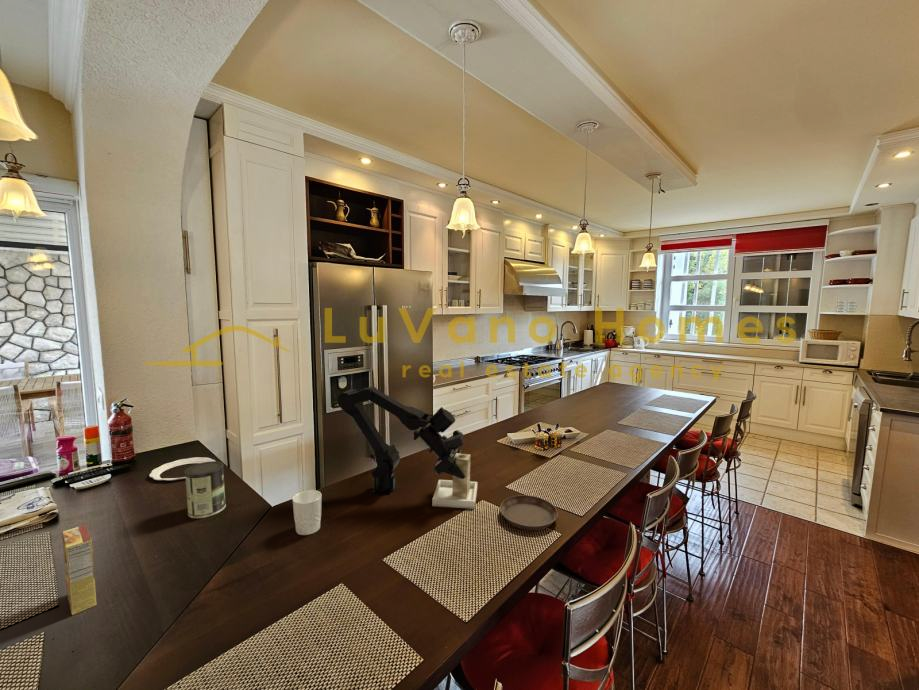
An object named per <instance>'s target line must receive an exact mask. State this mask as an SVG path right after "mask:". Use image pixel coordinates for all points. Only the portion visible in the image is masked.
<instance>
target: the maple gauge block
mask: <svg viewBox="0 0 919 690" xmlns="http://www.w3.org/2000/svg"><path fill="white" fill-rule="evenodd" d="M455 458H456V464H457V466H458V467H459V469H460V470H461V471H462V473H463V474H464V476H465V478H464V479H461V478H458V477H456V476H453V475H452V481H453V490H452V496H459V497H467V496H468V494H469V491H470V482H471V454H468V453H461V454H460V453H456V455H455V456H454V458H453V460H454V459H455Z"/></svg>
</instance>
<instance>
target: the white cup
mask: <svg viewBox="0 0 919 690" xmlns="http://www.w3.org/2000/svg"><path fill="white" fill-rule="evenodd" d="M292 508H293V510H292V511H293V518H294V523H295V524H294V525H295V532H296V533H297V535H300V536H309V535H311V534H312V535H313V534H315V533H316V532H318V531H319V530H320V529H321V520H322V493H321V491H319V490H315V489H307V490H304V491H300V492H297V493H296V494H294V495H293V497H292Z"/></svg>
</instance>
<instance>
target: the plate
mask: <svg viewBox="0 0 919 690" xmlns="http://www.w3.org/2000/svg"><path fill="white" fill-rule="evenodd" d="M211 461H216V460H215V459H212V458H210V457H199V456H196V457H188V458H181V459H177V460H175V461H171V462H167V463H164V464H162V465H160V466H159V467H156V468H153V470H151V472H150V473H149V474H148V475H149V477H150V478H152V479H153V481H154V480H155V481H179V480H186V478H185V476H184V477H174V478H173V477H170V478H168V477H166V478H162V477H161V474H162V473H163V472H165V471H168V470H170V469H173V468H175V467H178V466H183V465H187V464H199V463H204V462H211Z"/></svg>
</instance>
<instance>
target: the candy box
mask: <svg viewBox="0 0 919 690" xmlns="http://www.w3.org/2000/svg"><path fill="white" fill-rule="evenodd" d="M61 534H62V548H63V560H64V571H65V582H66V590H67V600H68V604H69V609H70V612H71V613H70V614H71V615H72V616H75V615H76V614H79V613H81V612H83V611H86V610H89V609H90V608H93V607H95V606H97V594H96V579H95V565H94V564H95V563H94V553H93V552H94V551H93V541H92V540H93V539H92V537H91V535H90V532H89V529H88V526H87V524H84V525H80V526H76V527H74V528H70V529H67V530H63V531H62V532H61Z"/></svg>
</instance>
